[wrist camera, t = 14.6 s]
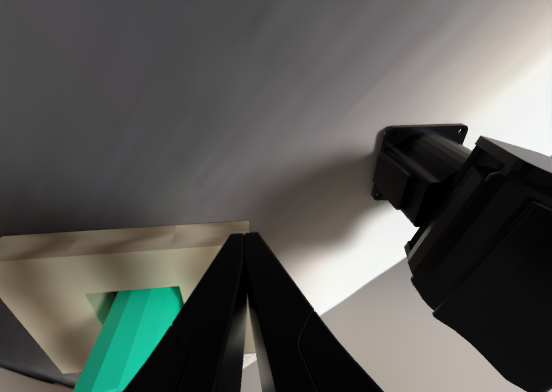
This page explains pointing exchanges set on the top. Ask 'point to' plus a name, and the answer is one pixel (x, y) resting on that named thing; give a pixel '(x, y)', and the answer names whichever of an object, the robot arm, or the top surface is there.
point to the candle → (128, 337)
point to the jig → (100, 278)
